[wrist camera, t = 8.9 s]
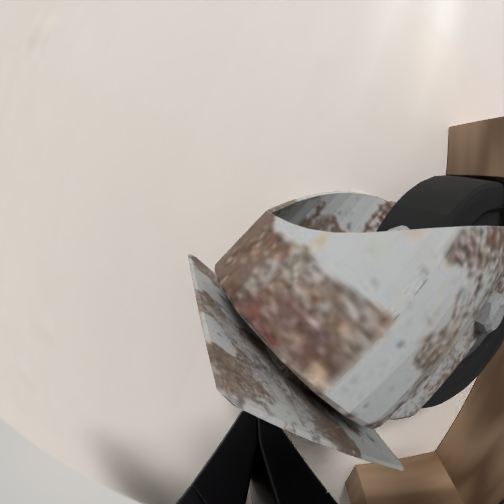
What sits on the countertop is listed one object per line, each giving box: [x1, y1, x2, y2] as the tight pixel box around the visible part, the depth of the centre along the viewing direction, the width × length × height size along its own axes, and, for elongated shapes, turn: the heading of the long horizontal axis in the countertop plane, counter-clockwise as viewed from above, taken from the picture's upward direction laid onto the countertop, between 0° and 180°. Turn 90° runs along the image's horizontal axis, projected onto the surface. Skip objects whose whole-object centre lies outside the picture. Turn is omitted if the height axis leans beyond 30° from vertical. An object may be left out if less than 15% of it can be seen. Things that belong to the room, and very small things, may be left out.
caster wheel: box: [188, 175, 504, 471], centre depth 8 cm, size 7×11×10 cm
